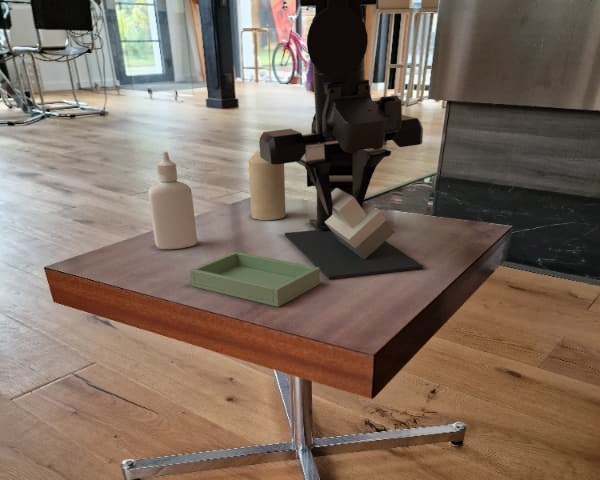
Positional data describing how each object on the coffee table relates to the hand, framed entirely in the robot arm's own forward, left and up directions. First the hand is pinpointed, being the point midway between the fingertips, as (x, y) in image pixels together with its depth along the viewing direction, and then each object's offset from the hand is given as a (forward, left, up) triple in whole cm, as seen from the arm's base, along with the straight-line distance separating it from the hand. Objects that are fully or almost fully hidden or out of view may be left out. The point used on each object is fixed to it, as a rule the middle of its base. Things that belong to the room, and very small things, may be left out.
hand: (343, 212), depth 72 cm
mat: (-1, +1, -5) cm, 5 cm away
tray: (+8, -13, -5) cm, 16 cm away
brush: (0, +3, -3) cm, 5 cm away
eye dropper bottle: (-11, -20, -5) cm, 24 cm away
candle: (-23, -4, -5) cm, 24 cm away
